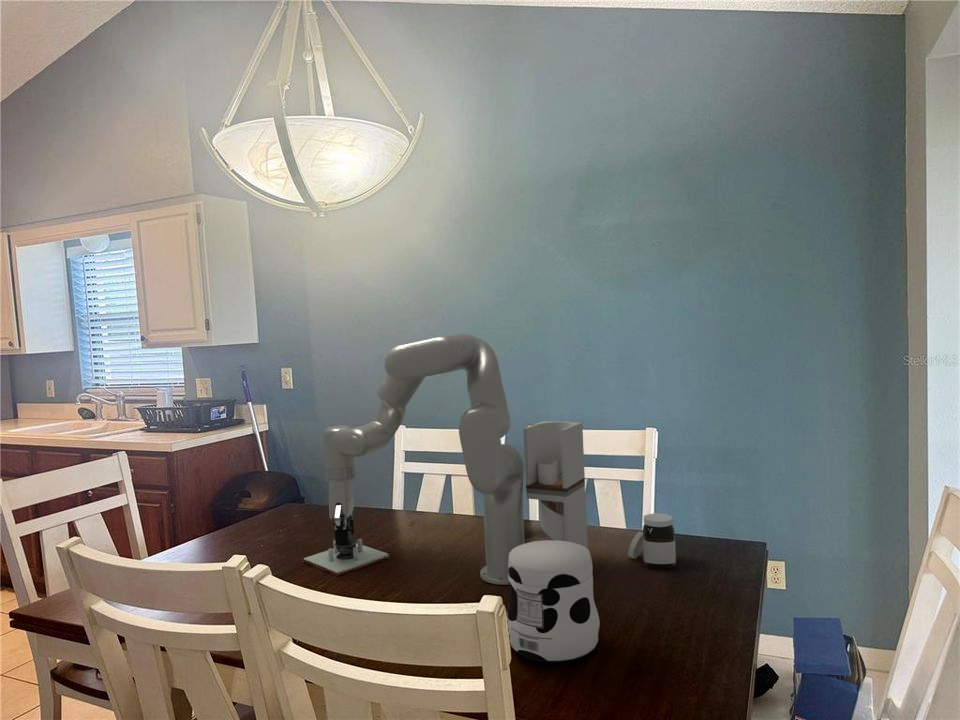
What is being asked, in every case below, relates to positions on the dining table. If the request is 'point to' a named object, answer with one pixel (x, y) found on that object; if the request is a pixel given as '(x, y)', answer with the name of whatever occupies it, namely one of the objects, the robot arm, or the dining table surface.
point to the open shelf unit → (557, 478)
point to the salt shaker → (346, 549)
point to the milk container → (552, 601)
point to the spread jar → (655, 542)
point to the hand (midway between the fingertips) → (345, 538)
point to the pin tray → (336, 565)
